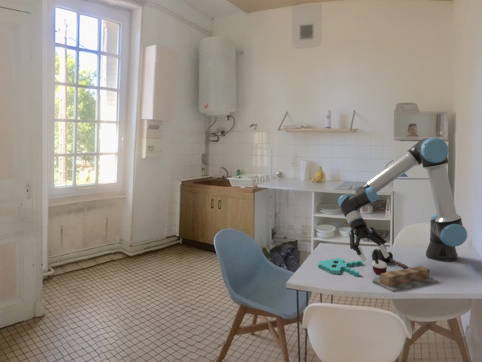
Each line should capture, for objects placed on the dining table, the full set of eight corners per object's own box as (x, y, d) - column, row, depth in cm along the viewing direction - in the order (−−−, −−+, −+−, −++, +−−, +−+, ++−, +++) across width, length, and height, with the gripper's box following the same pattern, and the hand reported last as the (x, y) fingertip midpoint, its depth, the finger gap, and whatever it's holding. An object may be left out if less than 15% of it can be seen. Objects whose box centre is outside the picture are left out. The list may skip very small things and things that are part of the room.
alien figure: (362, 264, 205) (322, 261, 212) (362, 260, 204) (322, 257, 212) (358, 277, 186) (315, 272, 193) (358, 272, 186) (315, 268, 193)
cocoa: (382, 271, 194) (383, 246, 193) (391, 275, 188) (392, 249, 187) (366, 273, 191) (367, 248, 190) (374, 276, 185) (375, 250, 184)
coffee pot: (370, 260, 210) (382, 260, 213) (393, 275, 193) (407, 275, 196) (373, 246, 208) (386, 247, 212) (397, 260, 192) (411, 261, 195)
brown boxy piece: (416, 274, 188) (416, 263, 188) (437, 282, 177) (438, 271, 177) (372, 282, 178) (372, 271, 177) (392, 291, 167) (392, 280, 166)
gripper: (372, 223, 210) (392, 259, 197) (332, 228, 200) (350, 266, 188) (379, 215, 204) (400, 251, 192) (339, 219, 194) (358, 258, 182)
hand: (376, 258), depth 190 cm, fingers open, 13 cm apart
